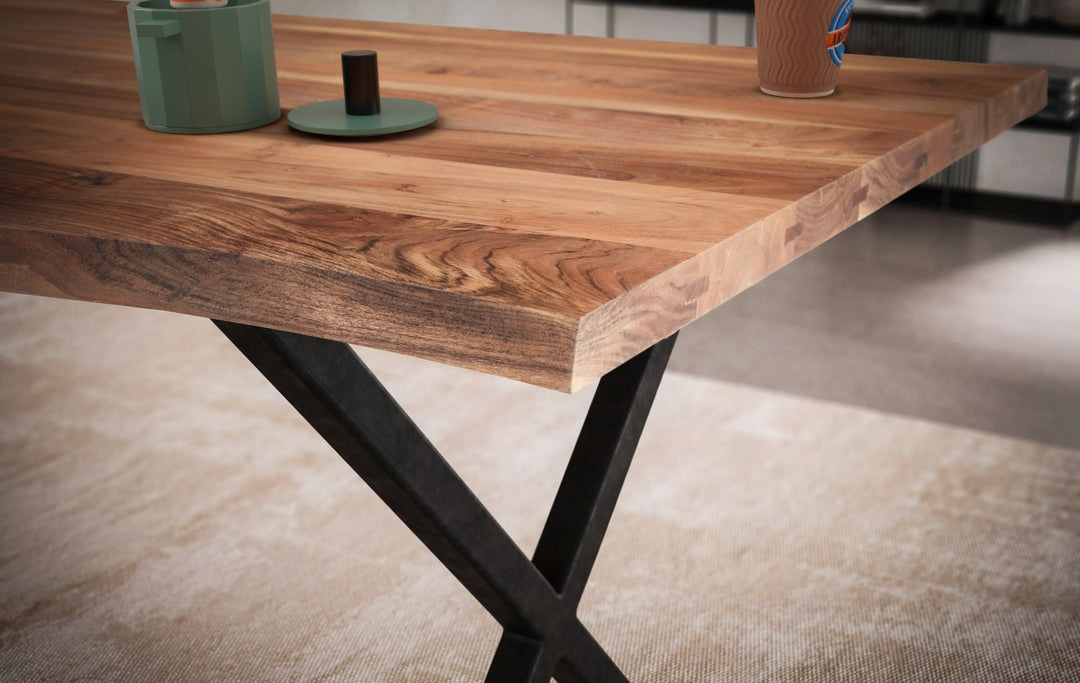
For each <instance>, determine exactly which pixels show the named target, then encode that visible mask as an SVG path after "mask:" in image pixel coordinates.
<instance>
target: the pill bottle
mask: <svg viewBox="0 0 1080 683" xmlns="http://www.w3.org/2000/svg"><path fill="white" fill-rule="evenodd" d="M227 3H228V0H170V4H171V6H172V7H173V8H176V9H181V10H187V9H211V8H220V7H223V6H225V5H227Z"/></svg>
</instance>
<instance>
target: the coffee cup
mask: <svg viewBox="0 0 1080 683" xmlns="http://www.w3.org/2000/svg"><path fill="white" fill-rule="evenodd" d="M854 4H855V0H754V16H755V17H754V18H755V19H754V20H755V38H756V53H757V54H756V56H757V76H758V79H759V86H760V90H761V91H762V93H765V94H766V95H771V96H776V97H782V98H792V99H793V98H796V99H808V98H810V99H811V98H820V97H826V96H829V95H832V93H834V92H835V88H836V85H837V82H838V80H839V77H840V76H839V75H840V71H841V66H842V63H843V57H844V53H845V48H846V43H847V39H848V34H849V29H850V24H851V19H852V16H853V7H854V6H855V5H854Z"/></svg>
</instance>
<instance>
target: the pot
mask: <svg viewBox="0 0 1080 683" xmlns="http://www.w3.org/2000/svg"><path fill="white" fill-rule="evenodd" d="M126 12H127V21H128V26H129V33H130V39H131V46H132V53H133V60H134V67H135V74H136V81H137V88H138V94H139V102H140V109H141V115H142V116H141V117H142V120H143V121H144V125H145V126H146V127H147V128H148V129H150V130H153V131H157V132H161V133H168V134H180V135H206V134H207V135H208V134H221V133H232V132H233V133H234V132H239V131H247V130H250V129H255V128H256V129H257V128H261V127H263V126H266V125H269V124H272V123H275V122H276V121H278V120H279V119H280V118H281V116H282V114H281V97H280V88H279V78H278V69H277V68H278V67H277V58H276V47H275V37H274V27H273V26H274V25H273V16H272V6H271V0H228V3H227V5H225V6H223V7H220V8H211V9H187V10H181V9H176V8H173V7H172V6H171V4H170V0H135V1H130V2H129V3H128V4H126Z"/></svg>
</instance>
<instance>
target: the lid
mask: <svg viewBox="0 0 1080 683" xmlns="http://www.w3.org/2000/svg"><path fill="white" fill-rule="evenodd" d="M340 59H341V60H340V62H341V74H342V85H343V86H342V87H343V98H338V99H329V100H322V101H317V102H314V103H309V104H305V105H302V106H299V107H297V108H294V109H292V110H291V111H289V112H288V113H287V115H286V122H287V125H288V126H290V127H291V128H293V129H295V130H298V131H301V132H307V133H312V134H313V133H314V134H318V135H319V134H320V135H327V136H332V137H333V136H334V137H343V138H344V137H347V138H348V137H349V138H361V137H362V138H363V137H377V136H378V137H379V136H387V135H391V134H397V133H400V132H401V133H402V132H405V131H410V130H414V129H419V128H422V127H424V126H427V125H431V124H432V123H433V122H435V121H437V120H438V118H439V116H440V115H439V114H440V113H439V108H438V106H436V105H434V104H432V103H430V102H427V101H423V100H418V99H412V98H403V97H390V96H389V97H386V96H384V97H383V96H382V97H381V93H380V92H381V90H380V77H379V76H380V74H379V59H378V51H375V50H371V49H354V50H353V49H352V50H346V51H343V52H341V53H340Z"/></svg>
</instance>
